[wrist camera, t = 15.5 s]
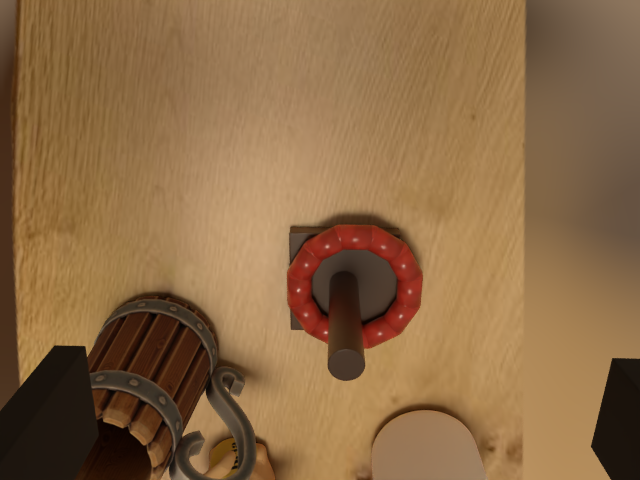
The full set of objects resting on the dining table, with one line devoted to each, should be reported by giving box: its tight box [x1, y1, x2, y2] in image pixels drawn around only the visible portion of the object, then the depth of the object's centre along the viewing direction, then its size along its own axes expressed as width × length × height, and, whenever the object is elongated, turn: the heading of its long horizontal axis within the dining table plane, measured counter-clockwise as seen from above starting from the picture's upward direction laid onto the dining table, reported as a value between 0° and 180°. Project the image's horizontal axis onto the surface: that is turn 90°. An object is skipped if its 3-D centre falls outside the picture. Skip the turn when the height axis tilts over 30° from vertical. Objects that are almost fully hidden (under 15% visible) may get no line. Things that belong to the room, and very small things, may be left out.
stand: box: [289, 227, 400, 381], centre depth 43 cm, size 9×9×14 cm
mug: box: [75, 296, 256, 480], centre depth 45 cm, size 16×11×15 cm
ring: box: [287, 225, 423, 349], centre depth 47 cm, size 11×11×2 cm
